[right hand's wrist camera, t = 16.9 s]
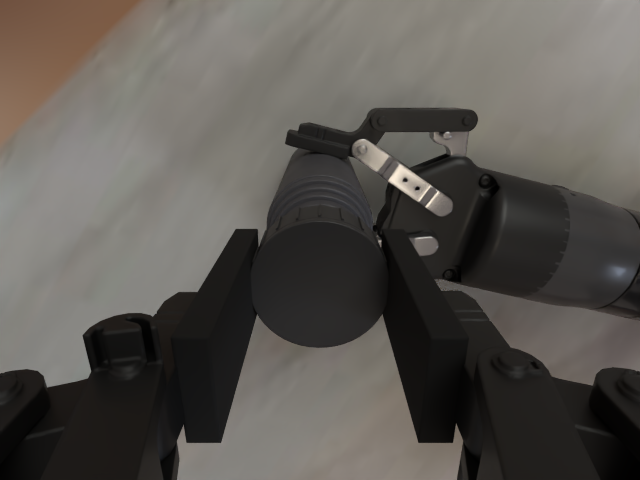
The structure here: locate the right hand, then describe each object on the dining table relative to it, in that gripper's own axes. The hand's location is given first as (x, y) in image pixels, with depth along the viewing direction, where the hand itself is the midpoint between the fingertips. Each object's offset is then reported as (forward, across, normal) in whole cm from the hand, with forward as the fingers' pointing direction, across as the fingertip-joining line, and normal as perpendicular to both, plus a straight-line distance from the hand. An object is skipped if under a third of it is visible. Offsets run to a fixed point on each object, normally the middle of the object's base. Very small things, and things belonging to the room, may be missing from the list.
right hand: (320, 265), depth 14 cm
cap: (-1, 0, 0) cm, 1 cm away
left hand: (+11, +2, -1) cm, 12 cm away
